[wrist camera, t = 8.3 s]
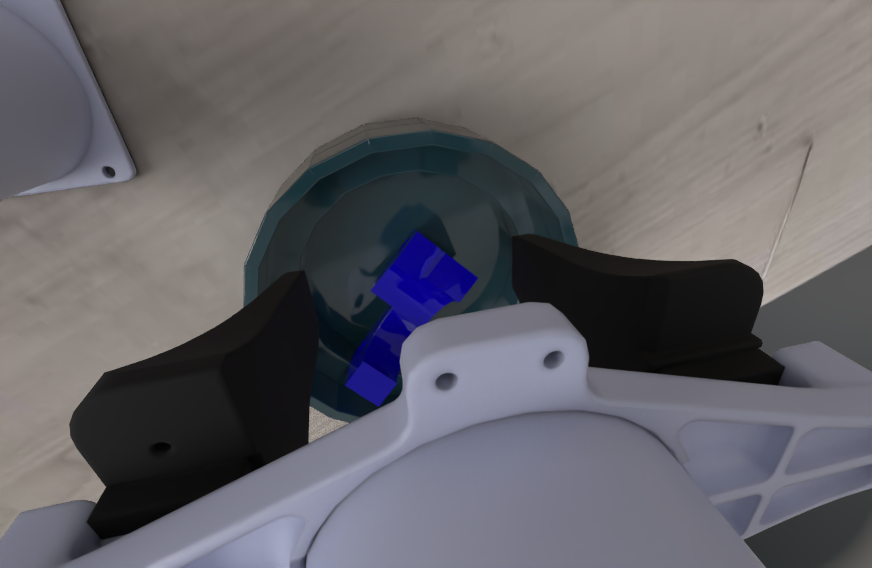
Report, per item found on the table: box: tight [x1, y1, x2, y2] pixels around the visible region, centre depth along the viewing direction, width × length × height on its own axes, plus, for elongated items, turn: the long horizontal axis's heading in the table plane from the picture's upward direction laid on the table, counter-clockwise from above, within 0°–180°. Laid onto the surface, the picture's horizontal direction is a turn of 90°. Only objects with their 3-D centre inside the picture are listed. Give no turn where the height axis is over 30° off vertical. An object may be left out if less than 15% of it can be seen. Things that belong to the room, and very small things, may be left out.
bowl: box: [244, 118, 579, 423], centre depth 22 cm, size 16×16×5 cm
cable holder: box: [345, 229, 478, 407], centre depth 21 cm, size 8×4×4 cm, turn 140°
